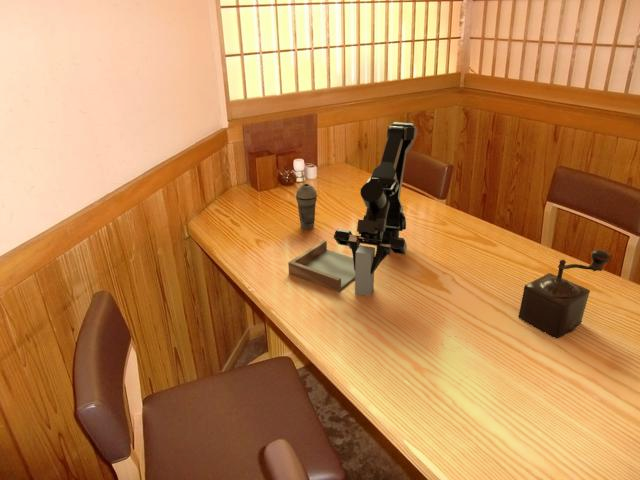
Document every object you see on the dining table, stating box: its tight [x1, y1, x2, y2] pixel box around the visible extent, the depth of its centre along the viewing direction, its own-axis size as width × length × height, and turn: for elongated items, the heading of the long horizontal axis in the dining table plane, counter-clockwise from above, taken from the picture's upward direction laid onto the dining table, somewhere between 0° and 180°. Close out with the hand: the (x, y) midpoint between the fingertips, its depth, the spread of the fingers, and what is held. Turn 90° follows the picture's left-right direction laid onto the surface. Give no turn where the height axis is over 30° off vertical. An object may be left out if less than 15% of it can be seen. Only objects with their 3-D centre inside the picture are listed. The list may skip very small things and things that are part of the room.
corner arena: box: [287, 239, 355, 293], centre depth 135 cm, size 17×17×4 cm
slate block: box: [354, 244, 376, 297], centre depth 122 cm, size 4×4×12 cm
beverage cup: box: [295, 171, 318, 231], centre depth 157 cm, size 7×7×20 cm
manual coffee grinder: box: [517, 249, 611, 339], centre depth 108 cm, size 16×11×18 cm
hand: (363, 272), depth 121 cm, fingers closed on slate block, 4 cm apart
